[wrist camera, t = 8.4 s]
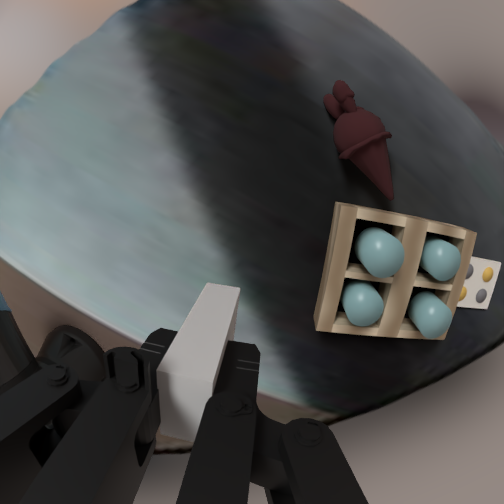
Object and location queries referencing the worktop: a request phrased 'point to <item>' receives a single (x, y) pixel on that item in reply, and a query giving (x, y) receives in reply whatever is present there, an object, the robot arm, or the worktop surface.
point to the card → (479, 283)
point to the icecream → (360, 137)
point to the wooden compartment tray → (391, 288)
